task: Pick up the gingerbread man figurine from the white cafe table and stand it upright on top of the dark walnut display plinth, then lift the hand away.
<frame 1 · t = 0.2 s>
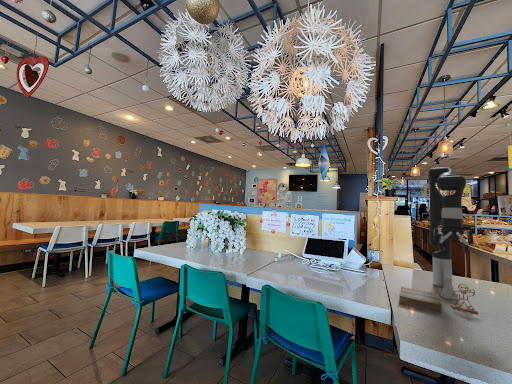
hand: (452, 251, 103), 28 cm above the table, tool pointing down, fingers open, 8 cm apart
gingerbread man figurine: (464, 310, 104), on the table
flask: (449, 298, 118), on the table
walnut plinth: (419, 303, 110), on the table
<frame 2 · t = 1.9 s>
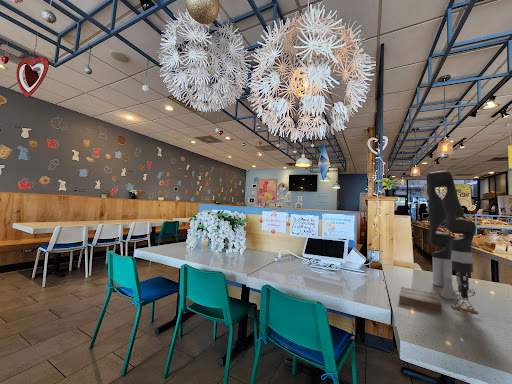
hand: (462, 295, 104), 7 cm above the table, tool pointing down, fingers open, 8 cm apart
nothing on the table moved.
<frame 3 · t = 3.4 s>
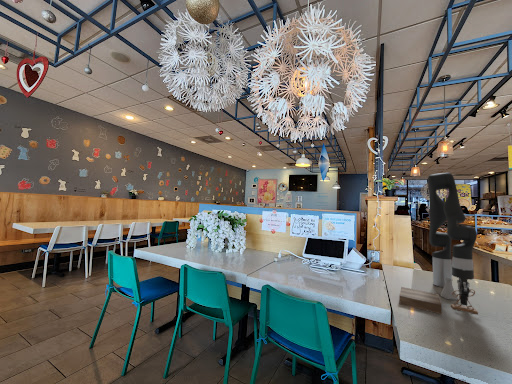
hand: (463, 304, 104), 3 cm above the table, tool pointing down, fingers closed on gingerbread man figurine
gingerbread man figurine: (463, 310, 104), on the table, touching gripper
everything else where it was.
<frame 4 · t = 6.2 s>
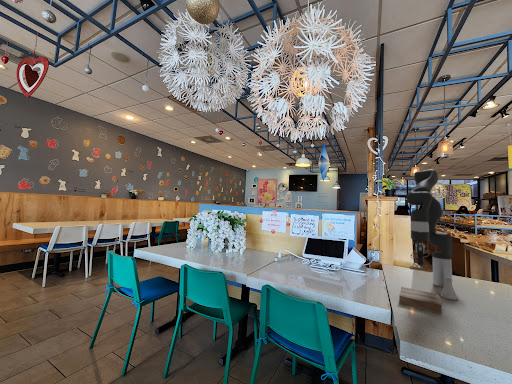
hand: (420, 264, 111), 19 cm above the table, tool pointing down, fingers closed on gingerbread man figurine
gingerbread man figurine: (420, 270, 110), point 16 cm above the table, touching gripper
everything else where it was.
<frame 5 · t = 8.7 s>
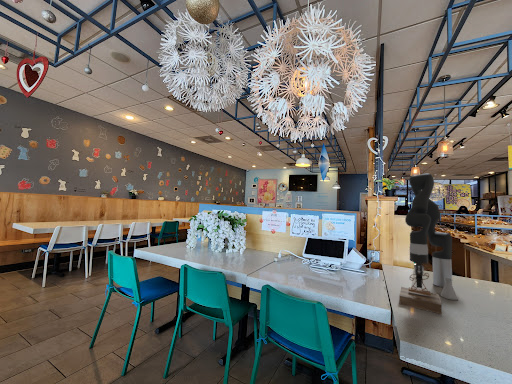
hand: (419, 287, 110), 8 cm above the table, tool pointing down, fingers closed on gingerbread man figurine
gingerbread man figurine: (419, 292, 110), point 5 cm above the table, touching gripper
everything else where it was.
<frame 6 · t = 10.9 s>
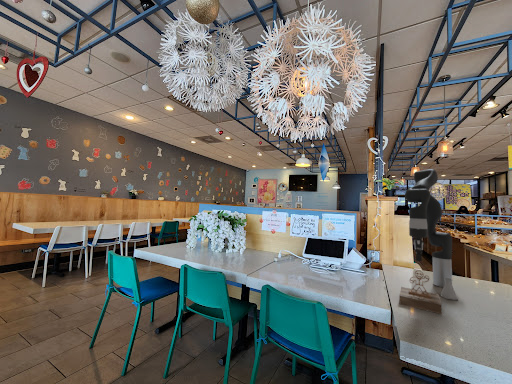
hand: (418, 259, 111), 22 cm above the table, tool pointing down, fingers open, 8 cm apart
gingerbread man figurine: (419, 295, 110), point 4 cm above the table, touching walnut plinth
everything else where it was.
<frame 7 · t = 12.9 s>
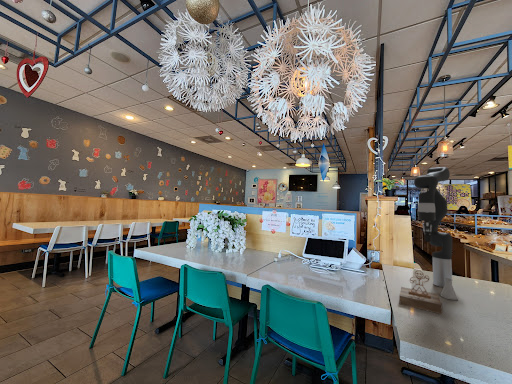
hand: (427, 240, 120), 30 cm above the table, tool pointing down, fingers open, 8 cm apart
nothing on the table moved.
at the end: gingerbread man figurine inside the target area on the walnut plinth (0.2 cm from its centre), point 3.8 cm above the walnut plinth's base; gingerbread man figurine tilted 0°; the gripper is holding nothing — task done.
